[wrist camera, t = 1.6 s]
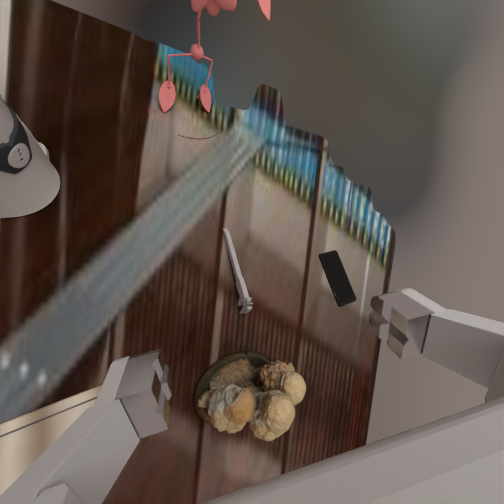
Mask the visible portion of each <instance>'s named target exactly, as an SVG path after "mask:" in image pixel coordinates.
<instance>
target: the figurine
mask: <svg viewBox="0 0 504 504" xmlns="http://www.w3.org/2000/svg"><path fill="white" fill-rule="evenodd" d="M236 2H237V0H191V4H192V9H193V11H195V12H198V17H197V19H198V20H197V35H198V44H194V45H193V46H192V47H191V53H187V54H170V55H169V56H168V81H164V83H163V84H162V86H161V87H160V91H159V102H160V105H161V107H162V110H163V112H166V111H167V110H168V109H169V108H170V107H171V106H172V105H173V103H174V101H175V95H176V93H175V86H174V85H173V83H172V82H170V57H171V56H190V55H192V57H193V58H194V59H196V60H200V59H201V58H202V57H204V58H206V59H208V60H210V61H212V62H211V66H210V70H209V74H208V77H207V81H206V85H202V87H201V89H200V94H199V95H198V96H197V99H199V97H200V99H201V103H202V105H203V107H204V108H205V109H206V111H207V112H210V106H211V94H210V91H209V89H208V87H207V83H208V79H209V76H210V72H211V68H212V64H213V60H212V59H209V58H208V57H206V56H204V55H203V49H202V47H201V46H200V17H201V11H202V9H203V8H204V7H206V9H207V11H208V12H209V13H210V15H212V16H215V15H217V14H218V12H219V11H220V7H221V8H223V9H225V10H227V11H232V10H234V9H235V7H236ZM257 2H258V4H259V7H260V10H261V12H262V13H263V15H264V16H265V18H266V19H267V20H270V0H257ZM217 134H218V133H217ZM179 136H180V135H179ZM214 136H215V135H214ZM182 137H184V136H182ZM216 137H217V136H216ZM186 138H188V137H186ZM208 138H210V137H208ZM191 139H195V138H191ZM202 139H206V138H202ZM199 141H201V140H199Z"/></svg>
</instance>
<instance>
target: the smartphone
mask: <svg viewBox="0 0 504 504" xmlns="http://www.w3.org/2000/svg"><path fill="white" fill-rule="evenodd" d="M319 259H320V261H321V264H322V266H323V269H324V271H325V274H326V277H327V279H328V282H329V284H330V287H331V289H332V292H333V295H334V297H335V300H336V302H337V305H338V306H339V307H341V306H344V305H346V304H349V303H351V302H354V301H356V297H355V294H354V292H353V289H352V287H351V285H350V282H349V280H348V277H347V275H346V272H345V270H344V267H343V265H342V263H341V260H340V258H339V255H338V253H337V251H331V252H327V253H323V254H319Z"/></svg>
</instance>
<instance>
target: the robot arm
mask: <svg viewBox="0 0 504 504" xmlns="http://www.w3.org/2000/svg"><path fill="white" fill-rule="evenodd" d="M59 188H60V178H59V175H58V172H57V170H56V169H55V168H54V166H53V165H52V164H51V162H50V160H49V153H48V150H47V148H46V147H45V146H44V145H43V144H42V143H39V142H37V141H36V139H35V138H34V137H33V135H32V134H31V132H30V131H29V130H28V128H27V127H26V126H25V124H24V123H23V122H21V120H20V119H19V117H18V116H17V115H16V114H15V112H14V111H13V110H12V108H11V107H10V106H9V105H8V104H7V103H6V102H5V101H4V100H3V99H2V97H1V95H0V218H10V217H19V216H24V215H28V214H31V213H34V212H37V211H39V210H41V209H42V208H44V207H46V206H47V205H48V204H49V203H51V202H52V201H53V199H54V198H55V197H56V195H57V193H58V191H59ZM370 306H371V307H372V308H373V310H372V312H371V313H370V315H369V323H370V326H371V329H372V330H373V332H374V333H375V334H376V335H377V336H378V337H379V338H381V339H383V340H385V341H387V345H388V347H389V348H390V349H391V350H392V351H393V352H394V353H395V354H396V355H397V356H398V357H399V358H400V359H406V358H409V357H413V356H417V355H420V354H422V355H423V356H424V357H426V358H428V359H430V360H433V361H434V362H436V363H438V364H440V365H442V366H444V367H446V368H448V369H451V370H452V371H455V372H456V373H459V374H461V375H462V376H464V377H466V378H469V379H470V380H472V381H474V382H477V383H479V384H481V385H483V386H485V387H487V388H489V389H488V392H487V394H486V396H485V403H484V404H481V405H478V406H476V407H473V408H470V409H467V410H464V411H461V412H459V413H455V414H453V415H450V416H447V417H444V418H441V419H439V420H436V421H433V422H430V423H427V424H424V425H421V426H419V427H416V428H413V429H410V430H407V431H404V432H402V433H399V434H396V435H393V436H390V437H388V438H385V439H382V440H379V441H376V442H374V443H370V444H368V445H365V446H362V447H359V448H356V449H353V450H351V451H348V452H345V453H342V454H339V455H336V456H334V457H331V458H328V459H325V460H322V461H320V462H317V463H314V464H311V465H308V466H305V467H303V468H300V469H297V470H294V471H291V472H288V473H286V474H283V475H280V476H277V477H274V478H272V479H269V480H266V481H263V482H260V483H257V484H255V485H252V486H249V487H246V488H243V489H240V490H238V491H235V492H232V493H229V494H226V495H223V496H221V497H218V498H215V499H212V500H209V501H207V502H204V503H201V504H504V323H502V322H498V321H495V320H491V319H487V318H483V317H479V316H475V315H471V314H467V313H464V312H459V311H455V310H452V309H449V310H446V309H445V308H443V307H441V306H440V305H438V304H436V303H434V302H433V301H431V300H430V299H428V298H426V297H425V296H423V295H421V294H420V293H418V292H416V291H415V290H413V289H410V288H404V289H400V290H397V291H394V292H390V293H386V294H382V295H378V296H374V297H373V298H372V299H371V304H370ZM171 396H172V377H171V372H170V369H169V367H168V366H167V365H165V355H164V353H163V350H161V349H159V350H155V351H150V352H146V353H141V354H137V355H132V356H129V357H125V358H120V359H116V360H114V361H113V362H112V363H111V366H110V368H109V370H108V373H107V375H106V378H105V380H104V382H103V385H102V387H101V390H100V392H99V394H98V397H97V399H96V402H95V404H94V406H92V407H88V408H87V409H86V410H85V411H84V412H83V413H82V414H81V415H80V416H79V417H78V418H77V419H76V420H75V421H74V422H73V423H72V424H71V425H70V426H69V427H68V428H67V429H66V430H65V431H64V432H63V433H62V434H61V435H60V436H59V437H58V438H57V439H56V440H55V441H54V442H53V443H52V444H51V445H50V446H49V447H48V448H47V449H46V450H45V451H44V452H43V453H42V454H41V455H40V456H39V457H38V458H37V459H36V460H35V461H34V462H33V463H32V464H31V465H30V466H29V467H28V468H27V469H26V470H25V471H24V472H23V473H22V474H21V475H20V476H19V477H18V478H17V479H16V480H15V481H14V482H13V483H12V484H11V485H10V486H9V487H8V488H7V489H6V490H5V491H4V492H3V493H2V494H1V495H0V504H102V503H103V501H104V499H105V498H106V496H107V494H108V493H109V491H110V489H111V488H112V486H113V484H114V483H115V481H116V479H117V478H118V476H119V474H120V473H121V471H122V469H123V468H124V466H125V464H126V463H127V461H128V459H129V458H130V456H131V454H132V453H133V451H134V449H135V448H136V446H137V445H138V443H139V441H140V438H143V437H146V436H149V435H152V434H155V433H159V432H162V431H165V430H168V425H169V416H170V406H169V404H168V400H169V399H170V397H171Z"/></svg>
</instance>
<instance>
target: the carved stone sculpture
mask: <svg viewBox="0 0 504 504" xmlns="http://www.w3.org/2000/svg"><path fill="white" fill-rule="evenodd" d="M246 353H247V354H249V355H247V354H245V353H244V352H243V351H242V352H237V353H233V354H230V355H228V356H226V357H223V358H221V359H220V360H218V361H217V362H215V363H214V364H213V365H212V366H210V368H208V370H207V371H206V372H205V373H204V374H203V375H202V377H201V379H200V381H199V383H198V385H197V386H196V389H195V393H194V401H195V403H194V404H195V408H196V410H197V412H198V415H199V416H200V417H201V418H202V419H203V420H204V421H205V422H207V423H209V424H212V425H213V426H214V427H215V428H217V429H218V431H219V432H221V431H225V430H226V431H227V432H228V433H236V432H237V431H241V430H242V429H243V427H244V425H245V424H246V423H247V421H248V422H249V426H250V429H252V431H253V434H254V436H255V437H257V438H259V439H264V440H266V441H272V440H274V439H275V438H277V437H279V436H281V435H282V434H283V433H284V432H286V431H287V430H288V429H289V427H290V426H291V423H292V421H293V419H294V416H295V409H294V405H296V404H297V403H299V402H301V401H302V399H303V397H304V394H305V391H306V384H305V382H304V379H303V378H302V376H301V375H300V374H298V373H296V372H294V371H295V369H294V367H293V365H292V364H291V363H290V362H289V363H288V364H286V363H284V362H281V361H279V360H276V361H275V362H271V361H270V360H269V359H268V358H266V357H265V356H263V355H261V354H259V353H256V352H250V351H246Z"/></svg>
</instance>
